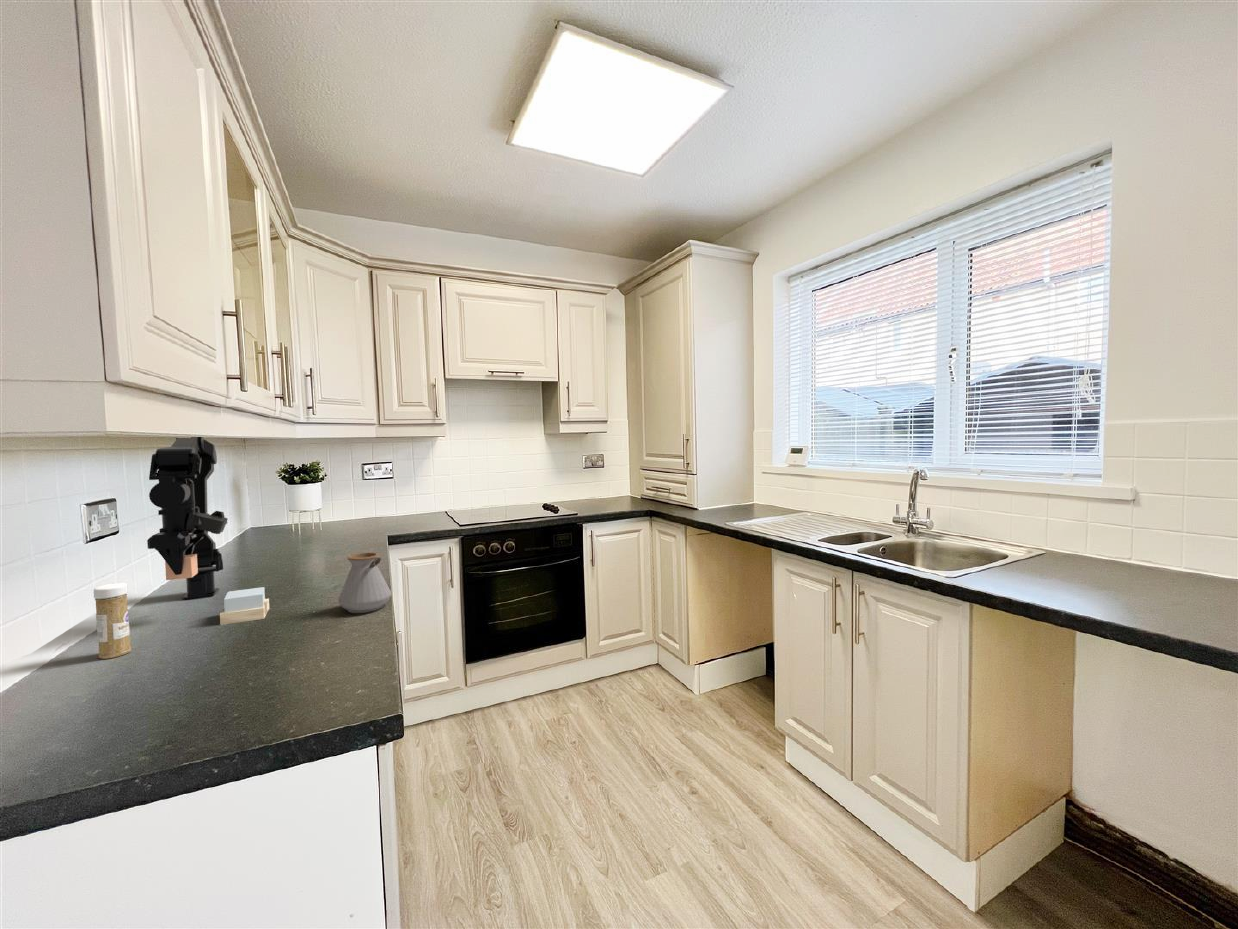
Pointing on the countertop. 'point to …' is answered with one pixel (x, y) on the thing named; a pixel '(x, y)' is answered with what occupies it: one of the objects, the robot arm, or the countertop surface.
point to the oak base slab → (244, 614)
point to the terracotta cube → (184, 568)
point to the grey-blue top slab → (244, 599)
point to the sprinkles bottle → (112, 620)
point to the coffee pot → (364, 585)
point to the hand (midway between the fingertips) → (182, 572)
